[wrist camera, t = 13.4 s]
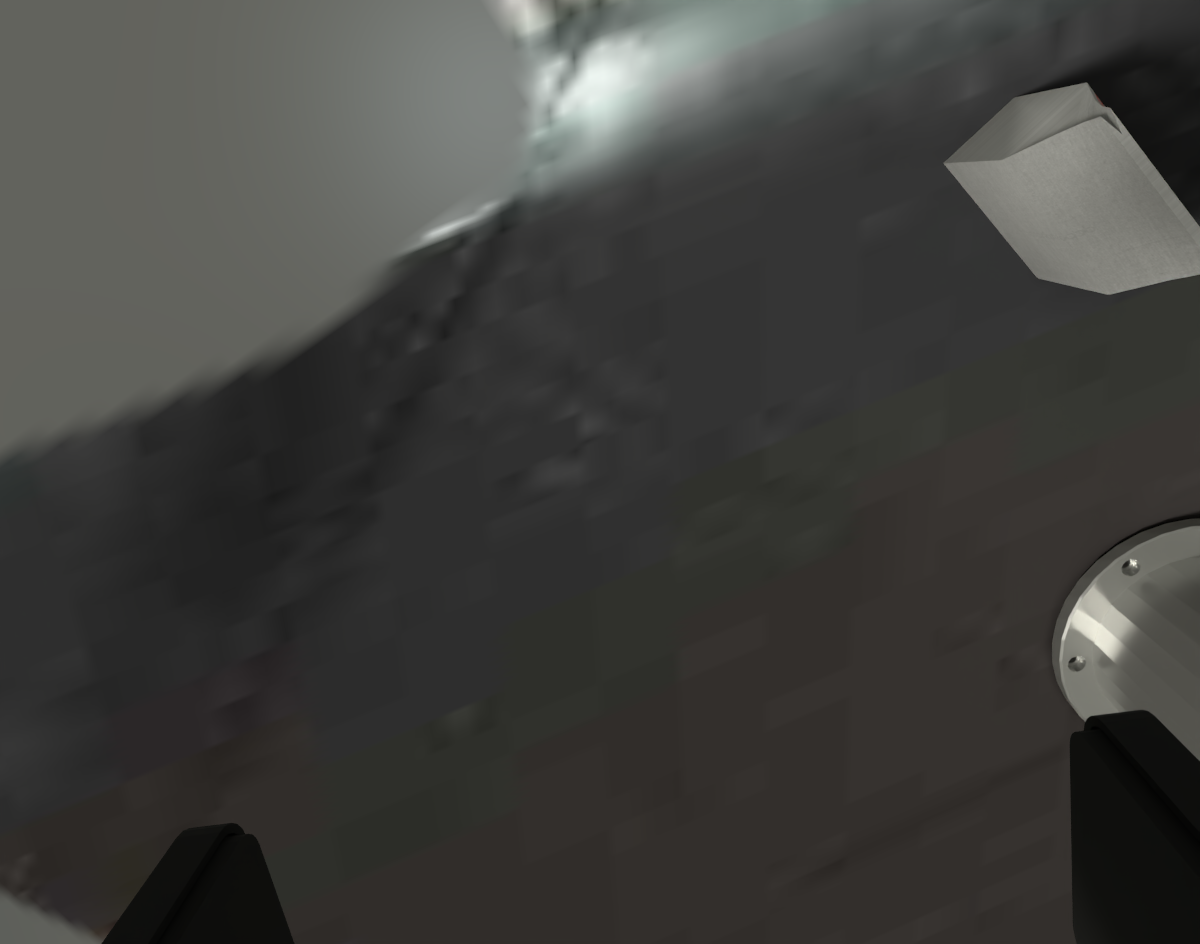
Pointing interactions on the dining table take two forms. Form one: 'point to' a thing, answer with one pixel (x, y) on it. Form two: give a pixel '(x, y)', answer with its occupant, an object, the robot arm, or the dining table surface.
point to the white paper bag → (1077, 194)
